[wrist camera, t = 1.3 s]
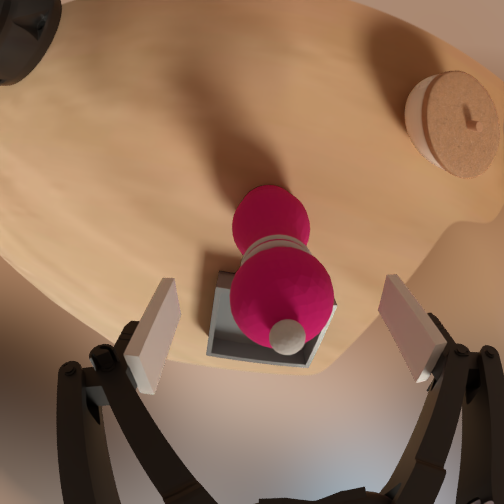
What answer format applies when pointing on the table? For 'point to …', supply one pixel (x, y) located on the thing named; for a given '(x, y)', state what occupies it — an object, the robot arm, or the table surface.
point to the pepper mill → (277, 273)
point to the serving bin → (239, 345)
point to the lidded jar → (453, 123)
